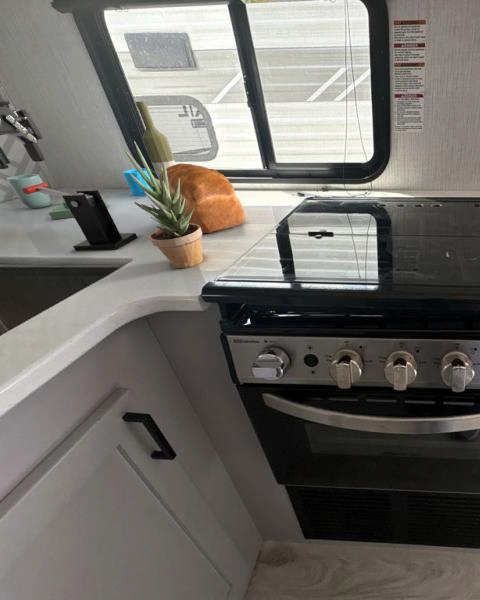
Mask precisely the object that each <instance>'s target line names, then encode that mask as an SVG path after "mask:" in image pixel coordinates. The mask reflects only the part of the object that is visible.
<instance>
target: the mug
mask: <svg viewBox="0 0 480 600" xmlns="http://www.w3.org/2000/svg"><path fill="white" fill-rule="evenodd" d="M141 169H142V170H143V172H144V173H145V174H146V175H147V177H148V178H149V179H150V177H149V175H148V173H147V171H146V169H145V167H144V168H141ZM128 172H129V173H131V174H132V175H133V176H134V177H135V178H137V179H138V180H139V181H140V182H141V183H143V184H144V185H145V186H146V187H148V188H149V189H150V190H152V189H151V188H150V187H149V185H148V184H147V183H146V182H145V180H144V179H143V178H142V176H141V175H140V174H139V172H138V171H137V169H136V168H134V169H127V170H124V171H123V172H122V174H123V175H124V178H125V179H126V182H127V184H128V186H129V189H130V191H131V193H132V195H133V196H134V197H144V196H147V195H146V194H145V192H144V190H143V189H142V188H141V187H140V186H139V185H138V184H137V183H136V182H135V180H134V179H133V178H132V177H131V176H130V174H129V173H128ZM150 180H151V179H150Z"/></svg>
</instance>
